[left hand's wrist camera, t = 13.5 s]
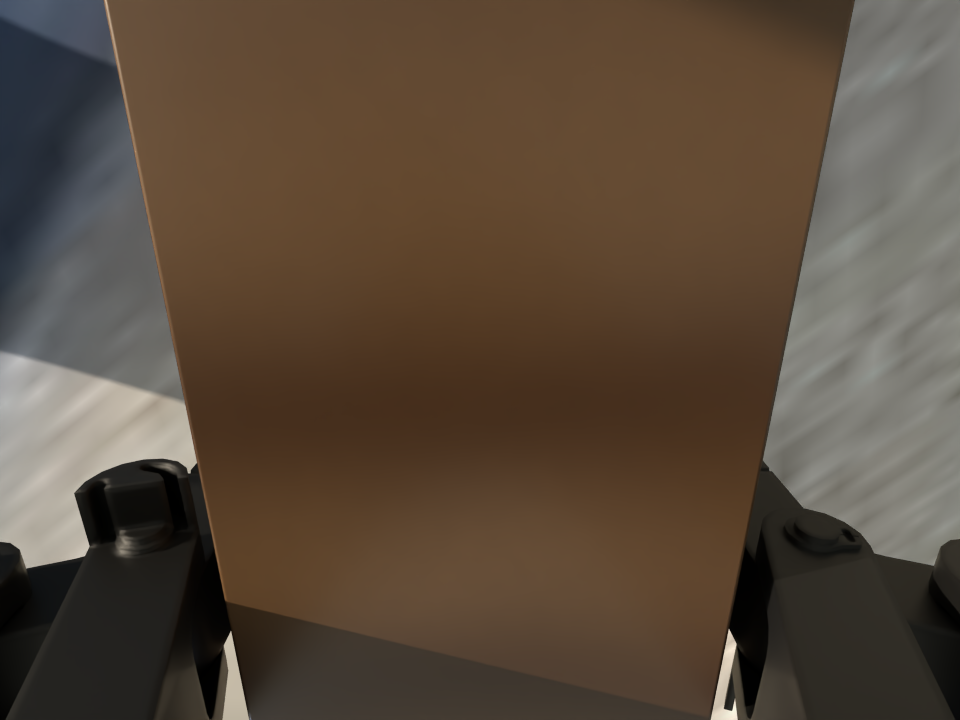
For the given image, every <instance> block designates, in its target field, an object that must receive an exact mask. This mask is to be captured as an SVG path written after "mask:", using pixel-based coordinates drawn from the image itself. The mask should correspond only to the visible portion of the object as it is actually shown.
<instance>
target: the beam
mask: <svg viewBox="0 0 960 720" xmlns="http://www.w3.org/2000/svg"><path fill="white" fill-rule="evenodd" d="M854 2H855V0H104V5H105V9H106V14H107V19H108V24H109V29H110V34H111V39H112V44H113V49H114V54H115V59H116V64H117V69H118V74H119V79H120V84H121V89H122V93H123V98H124V103H125V108H126V113H127V118H128V123H129V128H130V133H131V138H132V143H133V148H134V153H135V158H136V163H137V168H138V173H139V177H140V182H141V187H142V192H143V197H144V202H145V207H146V212H147V217H148V222H149V227H150V232H151V237H152V242H153V247H154V252H155V257H156V261H157V266H158V271H159V276H160V281H161V286H162V291H163V296H164V301H165V306H166V311H167V316H168V321H169V326H170V331H171V336H172V341H173V345H174V350H175V355H176V360H177V365H178V370H179V375H180V380H181V385H182V390H183V395H184V400H185V405H186V410H187V415H188V420H189V425H190V429H191V434H192V439H193V444H194V449H195V454H196V459H197V464H198V469H199V474H200V479H201V484H202V489H203V494H204V499H205V504H206V509H207V513H208V518H209V523H210V528H211V533H212V538H213V543H214V548H215V553H216V558H217V563H218V568H219V573H220V578H221V583H222V588H223V593H224V597H225V602H226V607H227V612H228V617H229V622H230V627H231V632H232V637H233V642H234V647H235V652H236V657H237V662H238V667H239V672H240V677H241V681H242V686H243V691H244V696H245V701H246V706H247V711H248V716H249V720H711V715H712V710H713V705H714V700H715V695H716V690H717V685H718V680H719V675H720V670H721V665H722V660H723V655H724V650H725V645H726V640H727V635H728V630H729V625H730V620H731V615H732V610H733V605H734V600H735V595H736V590H737V585H738V580H739V575H740V570H741V565H742V560H743V555H744V550H745V545H746V540H747V535H748V530H749V525H750V520H751V515H752V510H753V505H754V500H755V495H756V490H757V485H758V480H759V475H760V471H761V466H762V461H763V456H764V451H765V446H766V441H767V436H768V431H769V426H770V421H771V416H772V411H773V406H774V401H775V396H776V391H777V386H778V381H779V376H780V371H781V366H782V361H783V356H784V351H785V346H786V341H787V336H788V331H789V326H790V321H791V316H792V311H793V306H794V301H795V296H796V291H797V286H798V281H799V276H800V271H801V266H802V261H803V256H804V251H805V246H806V241H807V236H808V231H809V226H810V221H811V216H812V211H813V206H814V201H815V196H816V191H817V186H818V181H819V176H820V171H821V166H822V161H823V156H824V151H825V146H826V141H827V136H828V131H829V126H830V121H831V116H832V111H833V106H834V101H835V96H836V91H837V86H838V81H839V76H840V71H841V67H842V62H843V57H844V52H845V47H846V42H847V37H848V32H849V27H850V22H851V17H852V12H853V7H854Z"/></svg>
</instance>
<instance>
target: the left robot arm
mask: <svg viewBox="0 0 960 720" xmlns="http://www.w3.org/2000/svg"><path fill="white" fill-rule="evenodd" d="M74 494H75V498H76V501H77V504H78V508H79V511H80V515H81V518H82V521H83V525H84V528H85V532H86V535H87V539H88V542H89V545H90V547H89V549H88V551H87V553H86V555H85V556H84V557H80V558H77V559H72V560H67V561H62V562H57V563H52V564H47V565H42V566H37V567H32V568H27V569H26V567H25V564H24V561H23V558H22V555H21V552H20V550H19V549H18V548H16V547H15V546H14V545H12V544H11V543H5V542H0V720H222V718H223V710H224V702H225V693H226V685H227V676H228V667H227V660H226V655H225V650H224V644H225V642H226V640H227V638H228V636H229V634H230V632H231V627H230V622H229V617H228V612H227V607H226V602H225V597H224V593H223V588H222V583H221V578H220V573H219V568H218V563H217V558H216V553H215V548H214V543H213V538H212V533H211V528H210V523H209V518H208V513H207V509H206V504H205V499H204V494H203V489H202V484H201V479H200V474H199V469H198V464H196V465H195V466H194V467H193V468H192V469H191V474H188V472H187V468H186V467H185V466H183V465H182V464H181V463H179V462H177V461H172V460H167V459H146V460H140V461H135V462H130V463H125V464H122V465H119V466H116V467H114V468H111V469H108V470H106V471H103V472H101V473H99V474H98V475H96V476H94V477H93V478H91V479H89V480H88V481H86V482H85V483H84V484H83V485H82V486H81V487H80V488H79V489H78V490H77V491H76V492H75V493H74ZM729 629H730V631H731V633H732V635H733V637H734V639H735V641H736V643H737V645H736V650H735V655H734V660H733V664H732V669H731V674H730V679H729V684H728V688H727V693H726V699H725V705H724V709H726V710H731V711H732V709H733V704H734V700H736V708H737V717H738V720H960V539H958V540H950V541H948V542H947V543H946V544H944V545H943V546H941V548H940V551H939V553H938V556H937V559H936V562H935V565H934V566H931V565H926V564H921V563H916V562H911V561H906V560H901V559H896V558H891V557H886V556H882V555H878V554H874V552H873V550H872V548H871V546H870V545H869V543H868V542H867V541H866V540H865V538H864V537H863V536H862V535H861V533H859V532H858V531H856V530H855V529H853V528H852V527H851V526H849V525H848V524H846V523H845V522H843V521H841V520H838V519H836V518H834V517H831V516H829V515H827V514H824V513H820V512H816V511H812V510H808V509H803V507H802V506H801V505H800V504H799V503H798V501H797V500H796V499H795V498H794V497H793V496H792V494H791V493H790V492H789V491H788V490H787V489H786V487H785V486H784V485H783V484H782V483H781V482H780V480H779V479H778V478H777V477H776V476H775V475H774V473H773V472H772V471H769V467H768V466H767V465H766V464H765V463H764V462H763V461H762V466H761V471H760V475H759V480H758V485H757V490H756V495H755V500H754V505H753V510H752V515H751V520H750V525H749V530H748V535H747V540H746V545H745V550H744V555H743V560H742V565H741V570H740V575H739V580H738V585H737V590H736V595H735V600H734V605H733V610H732V615H731V620H730V625H729Z"/></svg>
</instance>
